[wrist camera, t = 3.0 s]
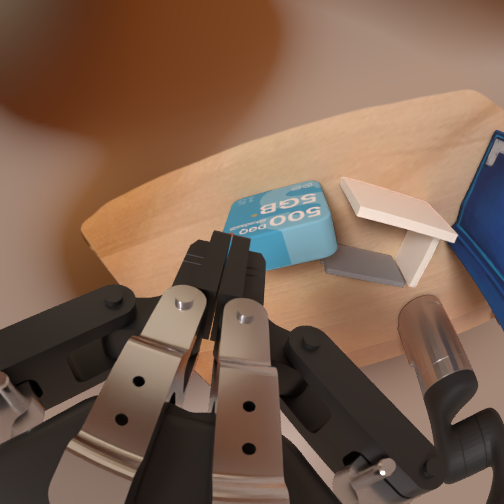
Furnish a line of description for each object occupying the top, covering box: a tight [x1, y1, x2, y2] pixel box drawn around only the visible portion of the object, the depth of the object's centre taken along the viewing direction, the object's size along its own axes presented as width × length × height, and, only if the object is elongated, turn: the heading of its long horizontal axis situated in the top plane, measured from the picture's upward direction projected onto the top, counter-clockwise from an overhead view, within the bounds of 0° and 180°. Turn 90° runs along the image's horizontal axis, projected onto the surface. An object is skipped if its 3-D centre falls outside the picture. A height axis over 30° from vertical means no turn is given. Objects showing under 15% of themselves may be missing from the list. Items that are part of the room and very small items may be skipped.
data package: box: [223, 181, 338, 271], centre depth 35 cm, size 12×4×12 cm, turn 108°
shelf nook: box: [320, 176, 458, 287], centre depth 37 cm, size 14×14×10 cm
